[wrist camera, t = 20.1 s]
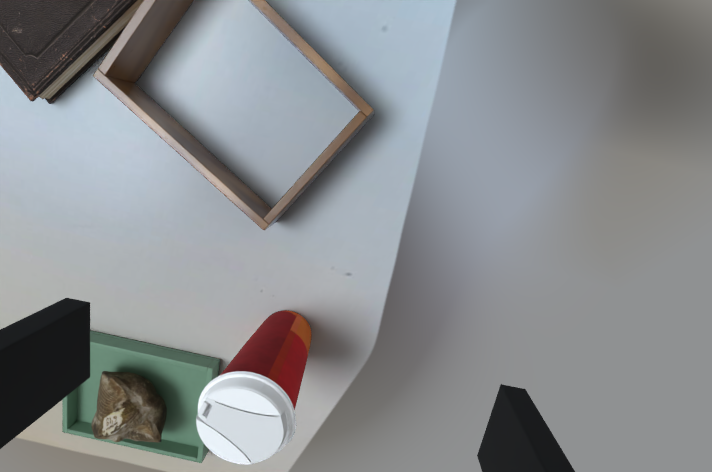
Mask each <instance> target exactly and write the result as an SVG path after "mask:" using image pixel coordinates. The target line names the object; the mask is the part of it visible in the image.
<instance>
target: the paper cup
mask: <svg viewBox="0 0 712 472" xmlns="http://www.w3.org/2000/svg"><path fill="white" fill-rule="evenodd" d="M310 343H311V328H310V326H309V324H308V322H307V321H306V320H305V318H303V317H302V316H301V315H299V314H298V313H295V312H293V311H278V312H276V313H274V314H272V315H270V316H269V317H268V318H267V319H266V320H265V321H264V322H263V324H262V325H261V326H260V327H259V328H258V329H257V331H256V332H255V333H254V334H253V335H252V337H251V338H250V339H249V340H248V341H247V342H246V344H245V345H244V346H243V347H242V349H241V350H240V351H239V353H238V354H237V355H236V356H235V357H234V359H233V360H232V361H231V362H230V364H229V365H228V366H227V367H226V368H225V370H224V371H223V372H222V373H221V375H220V376H218V377H216V378H215V379H213V380H212V381H210V382H209V383H208V385H207V386H206V387H205V388H204V390H203V391H202V393H201V395H200V398H199V402H198V414H197V416H196V425H197V430H198V433H199V436H200V438H201V440H202V441H203V443H204V444H205V445H206V447H207V448H208V449H209V450H210V451H211V452H213V453H214V454H215V455H217V456H218V457H220V458H222V459H224V460H227V461H229V462H233V463H237V464H254V463H257V462H260V461H263V460H265V459H267V458H269V457H271V456H272V455H273V454H275V453H277V452H279V451H280V450H281V449H282V448H283V447H284V445H286V444H288V443H289V441H290V440H291V439H292V437H293V435H294V433H295V430H296V426H297V425H296V418H295V411H294V410H295V406H296V402H297V398H298V394H299V390H300V386H301V382H302V377H303V373H304V369H305V365H306V361H307V356H308V352H309V348H310Z"/></svg>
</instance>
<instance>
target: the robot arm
mask: <svg viewBox="0 0 712 472" xmlns="http://www.w3.org/2000/svg"><path fill="white" fill-rule="evenodd" d="M89 378H90V302H85V301H80V300H74V299H69V298H65V299H63V300H61V301H59V302H57V303H55V304H53V305H51V306H49V307H47V308H44V309H42V310H40V311H38V312H36V313H34V314H32V315H30V316H28V317H26V318H24V319H22V320H20V321H18V322H15V323H13V324H11V325H9V326H7V327H5V328H3V329H1V330H0V449H1V448H2V447H3V446H4V445H6V444H7V443H8V442H9V441H11V440H12V439H13V438H14V437H16V436H17V435H18V434H20V433H21V432H22V431H23V430H25V429H26V428H27V427H28V426H30V425H31V424H32V423H33V422H35V421H36V420H37V419H38V418H40V417H41V416H42V415H43V414H45V413H46V412H47V411H48V410H50V409H51V408H52V407H53V406H55V405H56V404H57V403H58V402H60V401H61V400H62V399H63V398H65V397H66V396H67V395H68V394H70V393H71V392H72V391H74V390H75V389H76V388H77V387H79V386H80V385H81V384H82V383H84V382H85V381H86V380H87V379H89ZM477 456H478V459H479V462H480V465H481V469H482V472H575V471H574V469H573V468H572V466H571V464H570V463H569V461H568V459H567V458H566V456H565V454H564V453H563V451H562V449H561V448H560V446H559V445H558V443H557V441H556V439H555V438H554V436H553V434H552V433H551V431H550V429H549V428H548V426H547V424H546V423H545V421H544V420H543V418H542V416H541V415H540V413H539V411H538V410H537V408H536V406H535V405H534V403H533V401H532V400H531V398H530V396H529V395H528V393H527V391H526V390H525V389H521V388H516V387H511V386H506V385H501V386H500V389H499V392H498V394H497V397H496V401H495V404H494V407H493V410H492V413H491V416H490V419H489V422H488V425H487V428H486V431H485V434H484V437H483V440H482V443H481V446H480V449H479V452H478V455H477Z"/></svg>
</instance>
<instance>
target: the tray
mask: <svg viewBox="0 0 712 472" xmlns="http://www.w3.org/2000/svg"><path fill="white" fill-rule="evenodd" d="M219 363H220V359H217V358H213V357H208V356H204V355H199V354H195V353H190V352H186V351H181V350H176V349H172V348H167V347H163V346H158V345H154V344H149V343H145V342H140V341H135V340H131V339H126V338H122V337H117V336H113V335H108V334H104V333H99V332H95V331H90V378H89V379H87V380H86V381H85V382H84V383H82V384H81V385H80V386H79V387H77V388H76V389H75V390H74V391H72V392H71V393H70V394H68V395H67V396H66V397H65V398H63V432H64V433H69V434H73V435H78V436H82V437H87V438H91V439H96V440H100V441H105V442H109V443H114V444H118V445H123V446H127V447H131V448H136V449H140V450H145V451H149V452H154V453H158V454H163V455H167V456H172V457H176V458H181V459H185V460H189V461H194V462H198V463H202V461H203V460H204V458H205V456H206V454H207V453H208V451H209V449H208V448H207V447H206V445H205V444H204V443H203V441H202V440H201V438H200V436H199V433H198V430H197V425H196V416H197V414H198V402H199V398H200V395H201V393H202V391H203V390H204V388H205V387H206V386H207V385H208V383H209V382H210V381H212V380H213V379H215V378H216V377H218V371H219ZM103 371H108V372H131V373H135V374H137V375H141V376H143V377H144V378H146V379H147V380H149V381H150V382H151V383H152V384H153V386H154V388H155V390H156V393H157V394H158V395H160V396H161V397H162V399H164V401H165V404H166V408H167V415H166V422H165V425H164V428H163V431H162V437H161V442H158V443H156V442H144V441H134V440H131V439H123V440H122V441H120V442H114V441H112V440H109V439H97V438H95V437H94V434H93V431H92V427H91V425H92V424H91V423H92V420H93V418H94V415H95V413H96V411H97V397H98V390H99V384H100V378H101V375H102V372H103Z"/></svg>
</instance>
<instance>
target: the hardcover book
mask: <svg viewBox="0 0 712 472" xmlns="http://www.w3.org/2000/svg"><path fill="white" fill-rule="evenodd" d="M142 2H143V0H0V65H1V66H2V68H3V69H4V70H5V71H6V72H7V73H8V75H9V76H10V77H11V78H12V79H13V81H14V82H15V83H16V84H17V85H18V86H19V88H20V89H21V90H22V91H23V92H24V94H25V95H26V96H27V97H28V98H29V100H30V101H34V100H35V99H36V98H37V97H40V98H42V99H44V98H45V99H46V100H47V102H48V103H49V104H51V103H53V102H54V101H55V100H56V99H57V98H58V97H59V96H60V95H61V94H62V93H63V92H64V91H65V90H66V89H67V88H68V87H69V86H70V85H71V84H72V83H73V82H75V81H76V80H77V79H78V78H79V77H80V76H81V75H82V74H83V73H84V72H85V71H86V70H87V69H88V68H89V67H90V66H91V65H92V64H93V63H94V62H96V61H97V60H98V59H99V58H100V57H101V56H102V55H103V54H104V53H105V52H106V51H107V50H108V49H109V48H110V47H111V46H112V45H113V44H114V43H115V42H116V41H117V39H118V38H119V36H120V35H121V33H122V32H123V30H124V29H125V27H126V26H127V24H128V23H129V21H130V20H131V18H132V17H133V15H134V14H135V12H136V11H137V9H138V8H139V6H140V5H141V3H142Z"/></svg>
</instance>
